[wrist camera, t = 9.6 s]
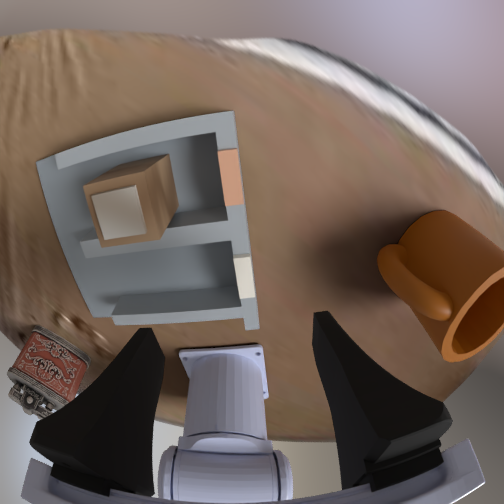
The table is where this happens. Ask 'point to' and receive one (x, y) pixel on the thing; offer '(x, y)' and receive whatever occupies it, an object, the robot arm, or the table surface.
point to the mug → (448, 282)
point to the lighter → (47, 373)
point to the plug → (133, 201)
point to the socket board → (175, 236)
